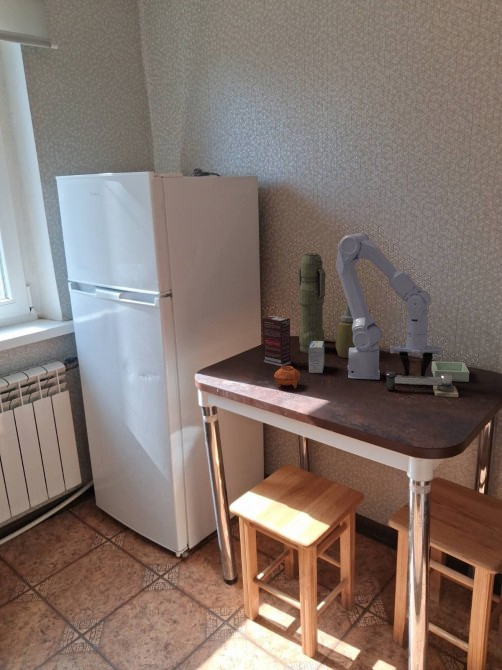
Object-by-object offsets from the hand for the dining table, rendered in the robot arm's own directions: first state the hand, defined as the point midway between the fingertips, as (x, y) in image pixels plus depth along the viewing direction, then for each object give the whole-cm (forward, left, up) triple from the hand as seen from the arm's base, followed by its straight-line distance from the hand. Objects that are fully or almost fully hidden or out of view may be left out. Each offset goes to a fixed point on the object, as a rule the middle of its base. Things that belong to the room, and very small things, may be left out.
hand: (414, 376), depth 159 cm
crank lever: (0, -7, -1) cm, 7 cm away
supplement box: (-44, +14, -2) cm, 46 cm away
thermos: (-34, +31, -2) cm, 46 cm away
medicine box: (-30, +9, -2) cm, 31 cm away
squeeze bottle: (-21, +25, -2) cm, 33 cm away
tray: (+11, +8, -2) cm, 14 cm away
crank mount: (+3, -2, -2) cm, 4 cm away
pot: (-37, -8, -2) cm, 38 cm away
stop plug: (0, 0, -2) cm, 2 cm away
